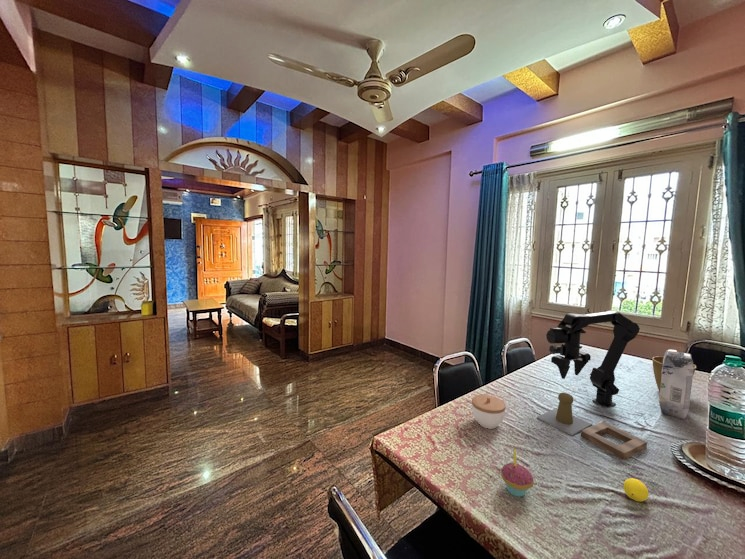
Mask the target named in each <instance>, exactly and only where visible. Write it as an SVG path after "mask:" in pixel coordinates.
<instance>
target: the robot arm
mask: <svg viewBox="0 0 745 559" xmlns="http://www.w3.org/2000/svg"><path fill="white" fill-rule="evenodd" d="M602 323H610V324H611V325H612V326H613V330H612V331H613V332H612V333H613V339H612V341H611V343H610V346H609V348H608V349H607V352H606V353H605V356H604V359H603V361H602V363H601V364H600V366H598V367H593V368H592V370H591V372H590V373H589V380H590V382H591V384H592V386H593V387H595V388H596V395H595V398H594V399H592V402H594V403H596V404H598V405H601V406H603V407H605V408H610V407H613V406H616V404H617V403H616V402H613V396H615V395H618V393H619V392H620V389H619V388H618V386H617V385H616V384H614V383H615V381H616V377H615V376H616V375H615V370H616V368H617V366H618V364H619V362H620V359H621V357H622V355H623V352H624V351H625V349H626V347H627V345H628V343H629V342H631V341H632V340H634V339H635V338H636V337H637V336H638V334H639V332H640V329H641V328H640V325H638V323H637V322H633V321H632V320H630V319H629V318H627V317H626V316H624V315H623V314H622V313H620V312H618V311H616V310H615V311H614V310H607V311H602V312H601V311H600V312H594V313H585V314H580V313H572V312H571V313H569V312H568V313H565V314H564V317H563V319H562V320H560V322H559V323H558V325H557V327H550V328H549V330H547V333H546V334H545V335H546V341H547V342H548V343H549V344H552V345H550V346H549V349H548V352H550V353H551V354H552V355H554V356H551V358H550V362H551V363H552V364H553V365H556V367H557V368H558V371H559V374H560V377H561V379H563V380H565V378H566V377H567V375H568V372H569V370H570V368H571V365H570V364H571V361H573V364H574V365H573V366H574V367H573V368H574V375H576V376H579V374H580V373H581V371H582V370H583V369H584V368H585V366H586V365H587V363H589V361H591V358H592V356H591V354H590V353H589V352H585V351H582V350H581V349H583V345H581V334H586V333H587V332H586V331H585V330H584V329H585V328H586V327H588V326H590V325H595V324H602ZM556 344H561V345H556Z"/></svg>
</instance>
